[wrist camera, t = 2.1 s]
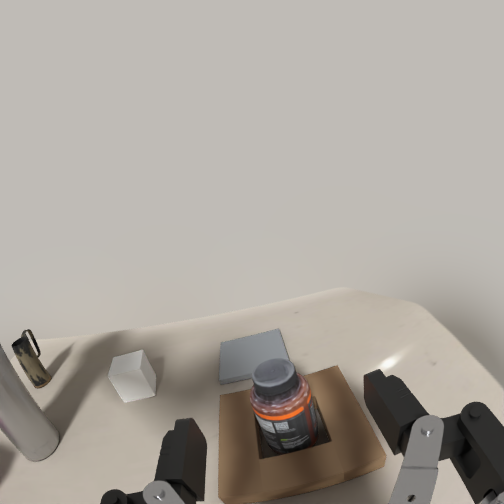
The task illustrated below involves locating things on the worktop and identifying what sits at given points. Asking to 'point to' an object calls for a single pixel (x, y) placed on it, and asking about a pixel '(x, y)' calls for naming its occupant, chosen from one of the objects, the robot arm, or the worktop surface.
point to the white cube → (133, 376)
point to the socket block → (300, 462)
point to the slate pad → (249, 355)
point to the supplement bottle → (283, 406)
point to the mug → (31, 360)
